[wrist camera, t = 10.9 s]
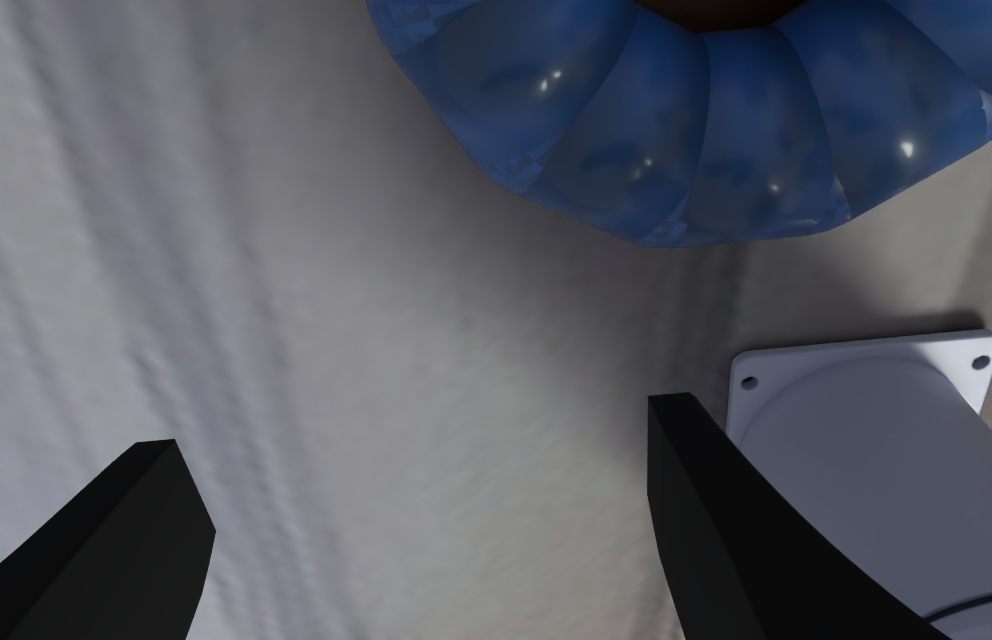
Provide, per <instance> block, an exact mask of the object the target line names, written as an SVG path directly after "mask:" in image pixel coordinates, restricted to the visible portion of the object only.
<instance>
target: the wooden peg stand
mask: <svg viewBox="0 0 992 640" xmlns="http://www.w3.org/2000/svg"><path fill="white" fill-rule="evenodd" d="M804 1H806V0H634V2H635V3H637V4H639V5H641V6H642V7H644V8H646V9H648V10H650V11H652V12H654V13H656V14H658V15H660V16H662V17H664V18H666V19H668V20H670V21H672V22H674V23H676V24H678V25H680V26H682V27H684V28H686V29H688V30H690V31H692V32H694V33H706V32H715V31H725V30H734V29H744V28H753V27H763V26H768V25H770V24H771V23H773V22H774V21H776V20H777V19H779V18H780V17H782V16H783V15H785V14H786V13H788V12H789V11H791V10H792V9H794V8H795V7H797V6H798V5H800V4H801V3H803V2H804Z"/></svg>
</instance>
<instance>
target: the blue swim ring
mask: <svg viewBox="0 0 992 640" xmlns="http://www.w3.org/2000/svg"><path fill="white" fill-rule="evenodd" d="M366 4H367V9H368V13H369V15H370V18H371V21H372V23H373V25H374V27H375V30H376V32H377V35H378V36H379V38H380V40H381V42H382V43H383V44H384V46H385V47H386V49H387V50H388V52H389V54H390V55H391V56H392V58H393V59H394V60H395V61H396V63H397V64H398V65H399V67H400V68H401V69H402V71H403V72H404V73H405V74H406V76H407V77H408V78H409V80H410V81H411V82H412V83H413V85H414V86H415V87H416V89H417V90H418V91H419V93H420V94H421V95H422V96H423V98H424V99H425V100H426V102H427V103H428V104H429V106H430V107H431V108H432V109H433V111H434V112H435V113H436V115H437V116H438V117H439V118H440V120H441V121H442V122H443V124H444V125H445V126H446V128H447V129H448V130H449V131H450V133H451V134H452V135H453V137H454V138H455V139H456V140H457V142H458V143H459V144H460V146H461V147H462V148H463V150H464V151H465V152H466V153H467V155H468V156H469V157H470V159H471V160H472V161H473V162H474V163H475V164H476V165H477V166H478V168H479V169H480V170H481V171H482V172H483V173H484V174H485V175H486V176H487V177H489V178H490V179H491V180H492V181H494V182H495V183H496V184H498V185H499V186H501V187H502V188H504V189H505V190H507V191H509V192H512V193H514V194H516V195H518V196H520V197H523V198H525V199H527V200H530V201H532V202H534V203H537V204H539V205H542V206H544V207H546V208H549V209H551V210H554V211H556V212H558V213H561V214H563V215H566V216H568V217H570V218H573V219H575V220H577V221H580V222H582V223H585V224H587V225H589V226H592V227H594V228H597V229H599V230H601V231H604V232H606V233H609V234H611V235H613V236H616V237H618V238H621V239H623V240H625V241H628V242H631V243H633V244H637V245H641V246H645V247H652V248H684V247H694V246H705V245H716V244H726V243H737V242H747V241H758V240H769V239H779V238H790V237H801V236H808V235H812V234H816V233H821V232H825V231H829V230H831V229H833V228H836V227H838V226H840V225H843V224H845V223H847V222H849V221H851V220H852V219H854V218H856V217H858V216H860V215H861V214H863V213H865V212H867V211H869V210H870V209H872V208H874V207H876V206H877V205H879V204H881V203H883V202H885V201H886V200H888V199H890V198H892V197H894V196H895V195H897V194H899V193H901V192H902V191H904V190H906V189H908V188H910V187H911V186H913V185H915V184H917V183H919V182H920V181H922V180H924V179H926V178H927V177H929V176H931V175H933V174H935V173H936V172H938V171H940V170H942V169H944V168H945V167H947V166H949V165H951V164H952V163H954V162H956V161H958V160H960V159H961V158H963V157H965V156H967V155H969V154H970V153H972V152H974V151H976V150H977V149H979V148H981V147H982V146H984V145H985V144H987V143H988V142H989V141H991V140H992V0H806V1H804V2H803V3H801V4H800V5H798V6H797V7H795V8H794V9H792V10H791V11H789V12H788V13H786V14H785V15H783V16H782V17H780V18H779V19H777V20H776V21H774V22H773V23H771V24H770V25H768V26H763V27H753V28H744V29H734V30H725V31H715V32H706V33H694V32H692V31H690V30H688V29H686V28H684V27H682V26H680V25H678V24H676V23H674V22H672V21H670V20H668V19H666V18H664V17H662V16H660V15H658V14H656V13H654V12H652V11H650V10H648V9H646V8H644V7H642V6H641V5H639V4H637V3H635V2H634V0H366Z"/></svg>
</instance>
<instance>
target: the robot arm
mask: <svg viewBox="0 0 992 640" xmlns="http://www.w3.org/2000/svg"><path fill="white" fill-rule="evenodd" d="M979 356H981V358H979V359H978V360H976V361H974V359H976V358H977V357H979ZM747 377H753V379H752V380H750V381H749V382H742V381H743V380H744V379H745V378H747ZM991 377H992V331H991V330H989V329H978V330H967V331H956V332H945V333H935V334H924V335H913V336H902V337H892V338H881V339H870V340H859V341H849V342H838V343H827V344H816V345H806V346H795V347H784V348H773V349H763V350H752V351H746V352H742V353H741V354H739V355H737V356H736V357H735V358H734V360H733V362H732V365H731V374H730V387H729V399H728V411H727V423H726V434H725V433H724V432H723V430H722V429H721V428H720V427H719V426H718V424H717V423H716V422H715V421H714V420H713V418H712V417H711V416H710V415H709V413H708V412H707V411H706V410H705V408H704V407H703V406H702V405H701V403H700V402H699V401H698V399H697V398H696V397H695V396H693V395H692V394H691V393H690V392H685V393H674V394H663V395H652V396H648V455H647V496H648V501H649V506H650V511H651V516H652V522H653V527H654V532H655V537H656V542H657V547H658V552H659V556H660V560H661V563H662V566H663V569H664V573H665V576H666V579H667V582H668V585H669V589H670V592H671V595H672V598H673V601H674V605H675V608H676V611H677V614H678V617H679V620H680V623H681V626H682V630H683V633H684V636H685V639H686V640H992V430H991V429H990V428H989V427H988V426H987V424H986V423H985V422H984V421H983V420H982V419H981V417H980V416H979V414H980V411H981V408H982V405H983V402H984V398H985V395H986V392H987V389H988V386H989V383H990V380H991ZM215 534H216V529H215V527H214V525H213V523H212V521H211V518H210V516H209V514H208V512H207V509H206V507H205V505H204V503H203V501H202V498H201V496H200V494H199V492H198V489H197V487H196V485H195V483H194V481H193V478H192V476H191V474H190V472H189V469H188V467H187V465H186V463H185V461H184V458H183V456H182V454H181V452H180V449H179V447H178V445H177V443H176V441H175V439H168V440H157V441H146V442H136V443H135V444H134V445H132V446H131V447H130V448H129V449H127V450H126V451H125V452H124V453H123V454H121V455H120V456H119V457H118V458H117V459H116V460H115V461H113V462H112V463H111V464H110V465H109V466H108V467H107V468H106V469H104V470H103V471H102V472H101V473H100V474H99V475H98V476H97V477H96V478H94V479H93V480H92V481H91V482H90V483H89V484H88V485H87V486H86V487H85V488H84V489H82V490H81V491H80V492H79V493H78V494H77V495H76V496H75V497H74V498H73V499H72V500H70V501H69V502H68V503H67V504H66V505H65V506H64V507H63V508H62V509H61V510H59V511H58V512H57V513H56V514H55V515H54V516H53V517H52V518H51V519H49V520H48V521H47V522H46V523H45V524H44V525H43V526H42V527H41V528H39V529H38V530H37V531H36V532H35V533H34V534H33V535H32V536H31V537H30V538H28V539H27V540H26V541H25V542H24V543H23V544H22V545H21V546H20V547H18V548H17V549H16V550H15V551H14V552H13V553H11V554H10V555H9V556H8V557H7V558H6V559H4V560H3V561H2V562H1V563H0V640H186V637H187V634H188V631H189V629H190V626H191V623H192V620H193V618H194V615H195V612H196V609H197V607H198V604H199V601H200V598H201V595H202V592H203V587H204V583H205V579H206V575H207V571H208V567H209V563H210V558H211V553H212V548H213V543H214V538H215Z"/></svg>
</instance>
